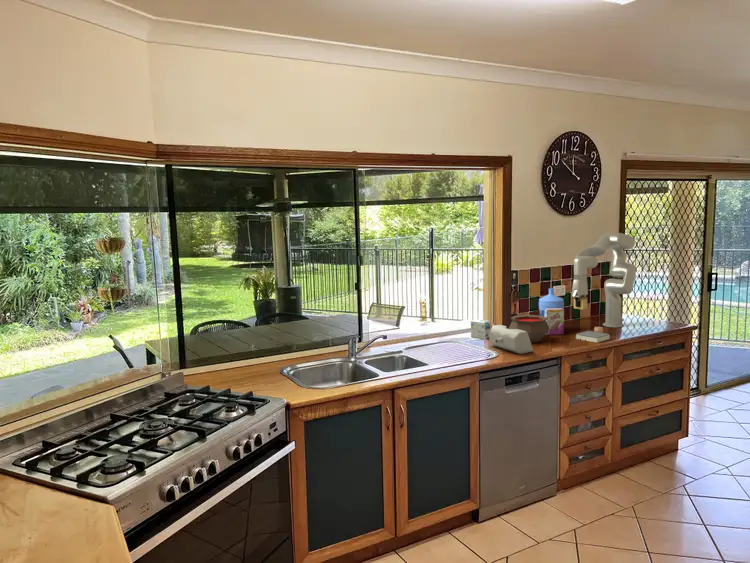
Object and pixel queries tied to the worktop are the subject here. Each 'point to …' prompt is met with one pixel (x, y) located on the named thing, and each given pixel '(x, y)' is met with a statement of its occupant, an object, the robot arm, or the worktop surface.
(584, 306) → the carton
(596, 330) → the beige egg shape
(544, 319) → the brown pot
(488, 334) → the light bulb box
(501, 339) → the tank
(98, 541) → the worktop surface
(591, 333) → the podium
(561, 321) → the candy bar box
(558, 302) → the water jug
